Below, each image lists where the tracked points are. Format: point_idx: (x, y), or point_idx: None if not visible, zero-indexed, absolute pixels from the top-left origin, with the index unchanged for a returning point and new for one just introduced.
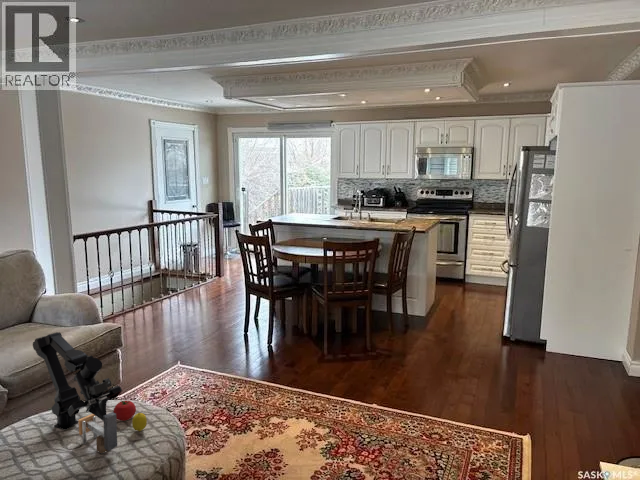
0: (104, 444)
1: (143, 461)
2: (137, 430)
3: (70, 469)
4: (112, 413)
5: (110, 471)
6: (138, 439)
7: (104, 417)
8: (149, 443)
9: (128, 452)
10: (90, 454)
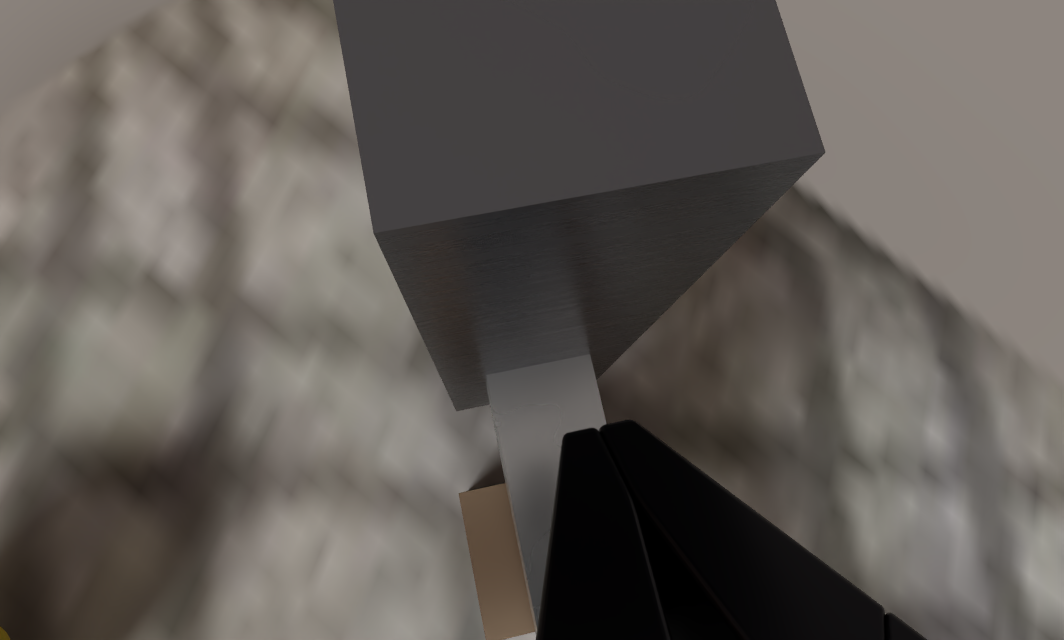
0: (602, 370)
1: (289, 37)
2: (4, 632)
3: (949, 395)
4: (431, 108)
5: None
6: (106, 481)
7: (783, 88)
8: (55, 301)
9: (337, 289)
10: None
